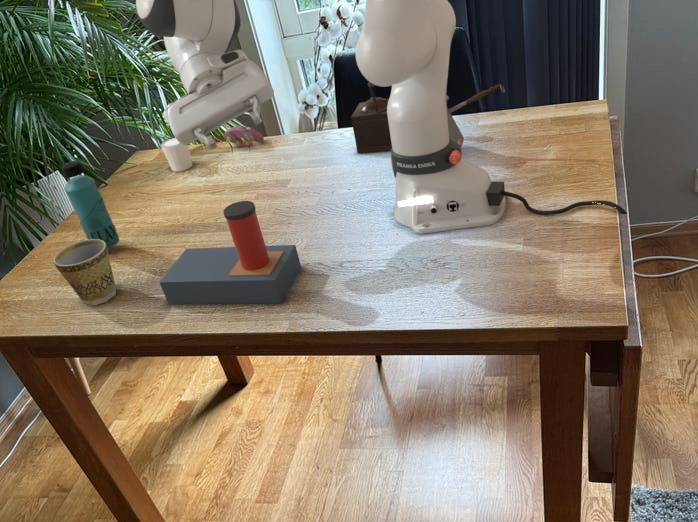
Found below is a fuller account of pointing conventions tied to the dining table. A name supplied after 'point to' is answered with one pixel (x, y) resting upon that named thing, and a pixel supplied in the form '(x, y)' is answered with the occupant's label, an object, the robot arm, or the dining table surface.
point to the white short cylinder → (177, 155)
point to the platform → (230, 277)
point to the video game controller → (243, 135)
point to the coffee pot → (452, 126)
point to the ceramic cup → (87, 270)
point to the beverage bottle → (89, 205)
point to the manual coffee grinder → (372, 125)
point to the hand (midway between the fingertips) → (235, 134)
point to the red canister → (246, 235)
